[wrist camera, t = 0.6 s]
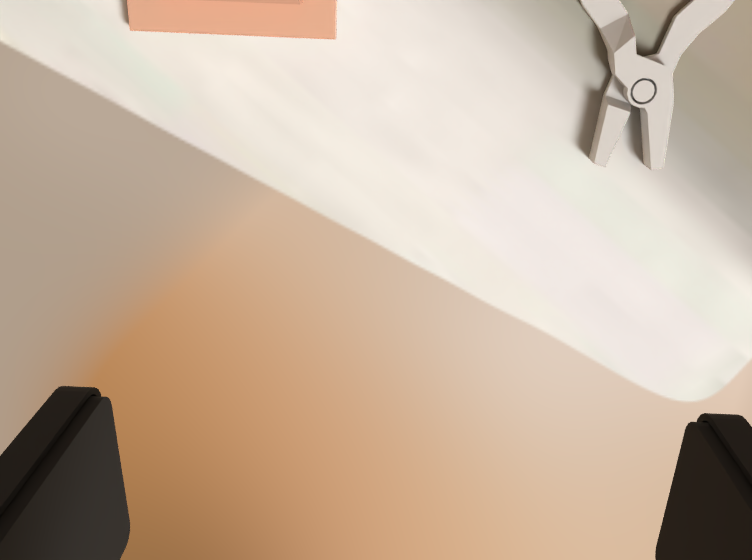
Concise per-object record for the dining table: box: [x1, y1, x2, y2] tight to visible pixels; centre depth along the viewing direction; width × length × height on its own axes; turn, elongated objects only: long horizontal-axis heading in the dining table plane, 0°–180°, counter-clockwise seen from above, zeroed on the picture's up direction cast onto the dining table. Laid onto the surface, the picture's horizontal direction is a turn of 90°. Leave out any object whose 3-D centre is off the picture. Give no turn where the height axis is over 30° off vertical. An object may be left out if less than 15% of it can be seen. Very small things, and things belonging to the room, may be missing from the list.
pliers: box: [580, 0, 735, 170], centre depth 33 cm, size 10×2×15 cm
